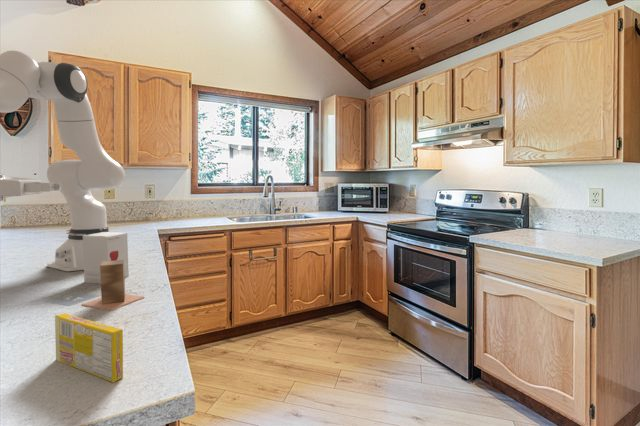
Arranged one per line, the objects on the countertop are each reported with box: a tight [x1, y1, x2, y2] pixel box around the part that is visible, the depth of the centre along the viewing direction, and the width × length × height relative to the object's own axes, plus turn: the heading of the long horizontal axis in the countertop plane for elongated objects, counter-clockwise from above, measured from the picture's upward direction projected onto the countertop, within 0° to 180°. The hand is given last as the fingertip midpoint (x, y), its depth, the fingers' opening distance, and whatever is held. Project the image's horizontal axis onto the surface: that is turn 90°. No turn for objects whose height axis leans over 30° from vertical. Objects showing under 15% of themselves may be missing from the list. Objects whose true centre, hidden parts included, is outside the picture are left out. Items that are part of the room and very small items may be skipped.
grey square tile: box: [44, 291, 101, 307], centre depth 95 cm, size 9×9×1 cm
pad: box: [81, 293, 145, 311], centre depth 93 cm, size 10×10×1 cm
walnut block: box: [100, 260, 126, 305], centre depth 93 cm, size 5×5×10 cm
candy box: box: [54, 312, 124, 384], centre depth 60 cm, size 16×2×8 cm, turn 64°
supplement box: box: [83, 231, 129, 284], centre depth 113 cm, size 9×9×15 cm
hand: (55, 187), depth 89 cm, fingers open, 8 cm apart
